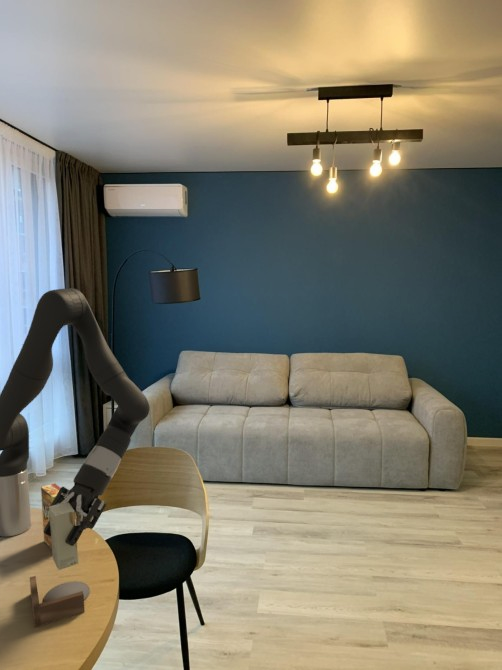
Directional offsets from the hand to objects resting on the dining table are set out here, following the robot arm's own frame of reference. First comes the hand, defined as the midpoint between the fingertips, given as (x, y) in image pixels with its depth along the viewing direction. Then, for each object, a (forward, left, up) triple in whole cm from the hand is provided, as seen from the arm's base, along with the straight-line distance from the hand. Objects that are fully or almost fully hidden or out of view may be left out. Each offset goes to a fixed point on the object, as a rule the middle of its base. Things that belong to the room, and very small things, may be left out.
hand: (57, 539), depth 106 cm
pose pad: (-1, +1, -14) cm, 14 cm away
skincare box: (-1, +1, -6) cm, 6 cm away
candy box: (-25, -5, -14) cm, 29 cm away
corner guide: (+1, -1, -14) cm, 14 cm away
